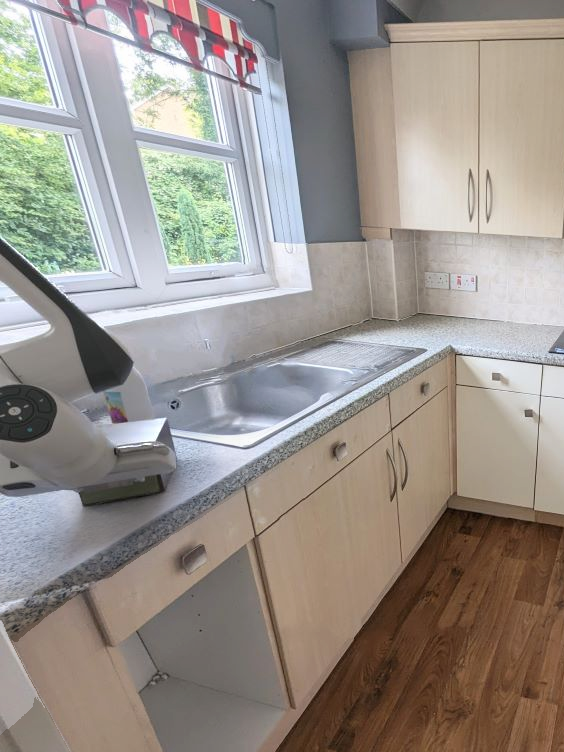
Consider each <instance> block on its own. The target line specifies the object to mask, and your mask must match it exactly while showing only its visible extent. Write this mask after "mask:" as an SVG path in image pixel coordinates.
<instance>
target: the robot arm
mask: <svg viewBox="0 0 564 752" xmlns="http://www.w3.org/2000/svg"><path fill="white" fill-rule="evenodd" d="M0 282H1V283H3V284H5V286H7V287H8V288H9V289H10V290H11V291H13V293H14V294H15V295H16V296H18V297H19V298H20V299H21V300H22V301H24V302H25V303H27V305H28V306H30V307H31V308H32V309H33V310H34V311H35V312H36V313H38V314H39V315H40V316H41V318H43V319H44V320H46V322H48V323H49V325H50V328H49V329H48V330H47V331H46V332H44V333H41V334H38V335H35V336H32V337H30V338H26V339H24V340H20V341H18V342H14V343H11V344H8V345H5V346H2V347H0V494H2V495H4V496H6V497H9V498H10V497H11V498H21V497H28V496H34V495H40V494H46V493H51V492H52V493H53V492H59V491H73V492H75V493H78V492H82V491H85V489H84V486H90V485H97V484H103V483H109V482H115V481H121V480H127V479H131V481H132V482H133V483H136V482H143V481H145V477H146V476H152V475H158V474H165V473H170V472H172V471H173V472H174V471H175V470H176V467H177V461H176V458H175V452H174V451H173V450H172V449H171V448H169V447H168V446H166V445H165V444H163V443H161V442H158V441H142V442H135V443H127V444H120V445H116V444H115V443H114V442H113V440H111V439H110V438H109V437H108V436H107V435H106V434H105V433H104V432H103V431H102V430H101V429H100V428H99V427H97V426H98V425H96V424H94V423H93V422H92V420H91V419H90V418H89V417H88V416H87V415H86V414H85V413H84V412H83V411H81V410H80V409H79V408H78V407H76V406H75V405H74V404H72V403H75V402H77V401H80V400H81V399H83V398H86V397H88V396H91V395H94V394H96V395H97V394H100V393H102V392H103V391H106V390H109V389H112V388H115V387H118V386H121V385H123V384H124V382H125V381H126V380H127V378H128V376H129V374H130V372H131V370H132V367H133V366H134V364H135V363H134V362H135V361H133V358H132V355H131V352H130V351H129V348H128V347H127V346H126V345H125V344H124V343H123V342H122V340H120V339H119V338H118V337H117V336H116V334H114V333H112V332H111V331H110V330H109V329H107V328H106V327H104V326H102V325H101V324H100V323H98V322H97V321H96V320H94V319H92V318H91V317H90V316H89V315H88V314H87V313H85V311H84V310H82V309H81V308H80V307H79V306H78V305H77V304H76V303H75V302H74V301H72V299H71V298H70V297H69V296H67V294H66V293H65V292H63V290H61V289H60V288H59V287H58V286H57V285H56V284H55V283H53V282H52V281H51V280H50V278H48V277H47V276H46V275H45V274H44V273H43V272H42V271H40V270H39V269H38V268H37V267H36V266H35V265H34V264H33V263H32V262H30V261H29V259H27V258H26V257H25V256H24V255H23V254H22V253H21V252H19V251H18V250H17V249H15V247H13V246H12V245H11V244H10V243H9V242H7V241H6V240H5V239H4V238H3V237H2V236H1V235H0ZM103 393H104V392H103ZM173 472H172V473H173Z"/></svg>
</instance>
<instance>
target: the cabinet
mask: <svg viewBox="0 0 564 752" xmlns="http://www.w3.org/2000/svg"><path fill="white" fill-rule="evenodd" d="M96 426H97V427H99V428H100V429H101V430H102V431H103V432H104V433H105V434H106V435H107V436H108V437H109V438H110V439H111V440H113V442H114V443H115V444H116V445H120V444H127V443H135V442H142V441H158V442H161V443H163V444H165V445H166V446H168V447H169V448H171V449H172V450H173V451H174V452H175V458H176V462H177V460H178V455H177V451H176V448H175V443H174V438H173V436H172V431H171V429H170V428H171V427H170V423H169V420H168V417H161V418H155V419H151V420H142V421H134V422H125V423H117V424H112V423H110V424H109V423H108V424H100V425H96ZM173 472H174V470H173V471H172V472H170V473H165V474H158V475H157V479H158V483H159V486H160V490H159V492H153V493H147V494H142V495H136V496H130V497H125V498H119V499H114V500H108V501H102V502H97V503H91V504H85V505H84V504H83V501H82V498H81V495H80V492H77V493H78V496H79V499H80V502H81V505H82V507H88V506H93V505H99V504H104V503H110V502H116V501H123V500H126V499H133V498H139V497H143V496H150V495H156V494H161V493H165V492H166V491H167V488H168V485H169V483H170V480H171V477H172V474H173Z"/></svg>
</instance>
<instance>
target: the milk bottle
mask: <svg viewBox="0 0 564 752" xmlns="http://www.w3.org/2000/svg"><path fill="white" fill-rule="evenodd" d="M145 381H146V380H145V379H144V377H143V375H142V374H141V373H140V371H139V370H138V369H137V368H136V367H135V366H134V365H133V367H132V370H131V372H130V374H129V376H128V378H127V380H126V381H125V382H124V384H123V385H121V386H118V387H115V388H112V389H109V390H106V391H103V397H104V399H105V403H106V406H107V410H108V413H109V417H110V420H111V424H117V423H125V422H134V421H142V420H151V419H156V418H155V413H154V410H153V406H152V402H151V398H150V395H149V391H148V388H147V384H146V382H145Z"/></svg>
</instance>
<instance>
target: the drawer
mask: <svg viewBox="0 0 564 752" xmlns="http://www.w3.org/2000/svg"><path fill="white" fill-rule="evenodd" d="M84 489H85V491H82V492H80V495H81V498H82V501H83V504H84V505H85V504H91V503H97V502H102V501H108V500H114V499H119V498H125V497H130V496H136V495H142V494H147V493H153V492H159V490H160V486H159V483H158V479H157V475H152V476H146V477H145V481H143V482H136V483H133V482H132V481H131V479H127V480H121V481H115V482H109V483H103V484H97V485H90V486H84Z"/></svg>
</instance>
